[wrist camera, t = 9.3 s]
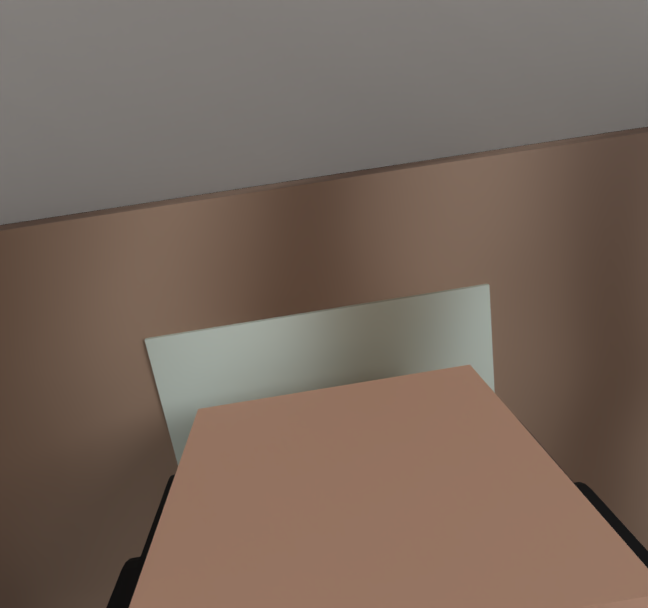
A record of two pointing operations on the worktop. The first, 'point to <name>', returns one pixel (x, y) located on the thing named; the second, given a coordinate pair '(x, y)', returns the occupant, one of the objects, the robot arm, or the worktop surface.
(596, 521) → the terracotta block
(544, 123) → the worktop surface
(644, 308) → the board
